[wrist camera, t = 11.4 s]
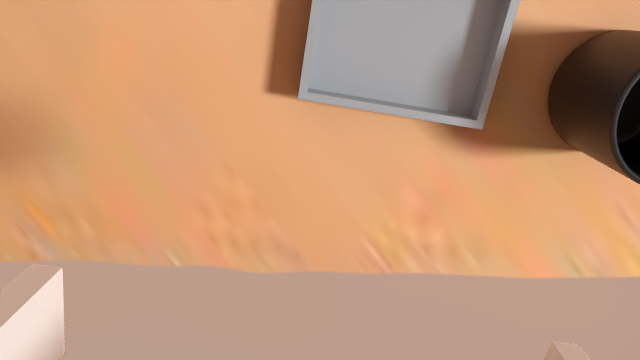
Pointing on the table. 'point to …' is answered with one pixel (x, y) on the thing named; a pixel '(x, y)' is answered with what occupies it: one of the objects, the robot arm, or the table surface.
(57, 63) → the table surface
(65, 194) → the table surface
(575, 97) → the mug
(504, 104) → the table surface
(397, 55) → the caddy
